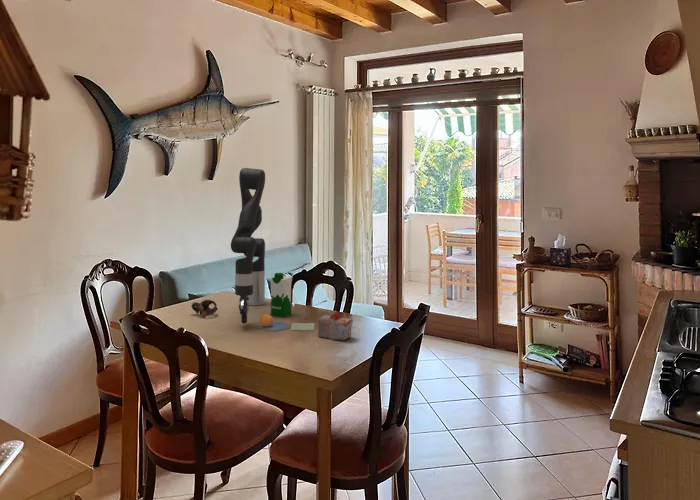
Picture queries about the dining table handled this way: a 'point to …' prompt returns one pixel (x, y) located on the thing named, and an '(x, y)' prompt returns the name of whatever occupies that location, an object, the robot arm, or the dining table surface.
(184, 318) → the dining table surface
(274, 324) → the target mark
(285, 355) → the dining table surface
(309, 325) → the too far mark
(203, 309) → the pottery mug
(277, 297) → the milk carton
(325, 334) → the food item
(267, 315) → the ball
